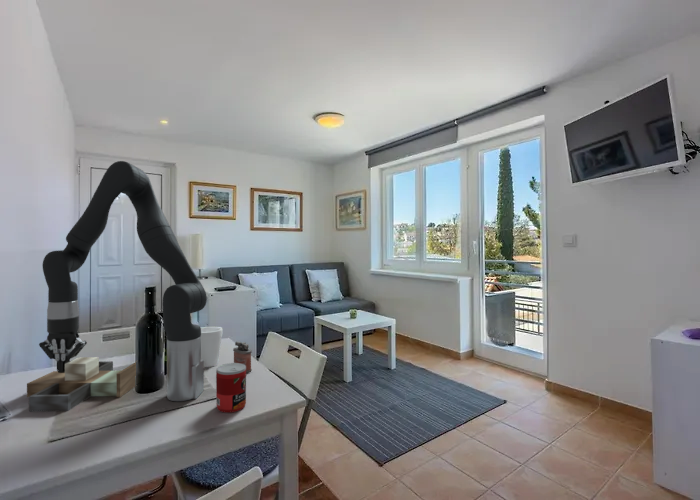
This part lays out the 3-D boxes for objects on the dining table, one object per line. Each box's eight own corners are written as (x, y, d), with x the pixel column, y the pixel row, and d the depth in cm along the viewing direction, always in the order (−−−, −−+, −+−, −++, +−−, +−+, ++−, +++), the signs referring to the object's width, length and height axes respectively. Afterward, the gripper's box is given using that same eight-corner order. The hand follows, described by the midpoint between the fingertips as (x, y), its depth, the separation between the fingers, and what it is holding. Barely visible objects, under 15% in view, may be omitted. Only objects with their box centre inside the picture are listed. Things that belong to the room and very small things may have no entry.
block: (98, 372, 112) (98, 357, 112) (85, 380, 107) (85, 363, 106) (79, 373, 112) (79, 357, 112) (64, 380, 106) (64, 363, 106)
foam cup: (216, 368, 128) (216, 332, 128) (190, 368, 128) (190, 332, 128) (226, 360, 138) (226, 326, 137) (202, 359, 138) (202, 326, 137)
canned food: (237, 414, 94) (237, 373, 94) (210, 411, 96) (210, 371, 96) (251, 402, 102) (251, 363, 102) (225, 399, 103) (225, 361, 103)
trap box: (154, 372, 124) (154, 352, 124) (102, 410, 96) (102, 384, 96) (74, 373, 123) (73, 353, 123) (-2, 411, 95) (-3, 385, 95)
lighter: (253, 371, 126) (253, 343, 126) (246, 374, 123) (246, 345, 123) (238, 366, 130) (238, 339, 130) (230, 369, 127) (230, 341, 127)
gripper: (94, 313, 113) (93, 367, 113) (50, 313, 112) (50, 367, 112) (77, 318, 105) (76, 376, 106) (30, 318, 105) (30, 376, 105)
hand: (63, 372), depth 109 cm, fingers closed
